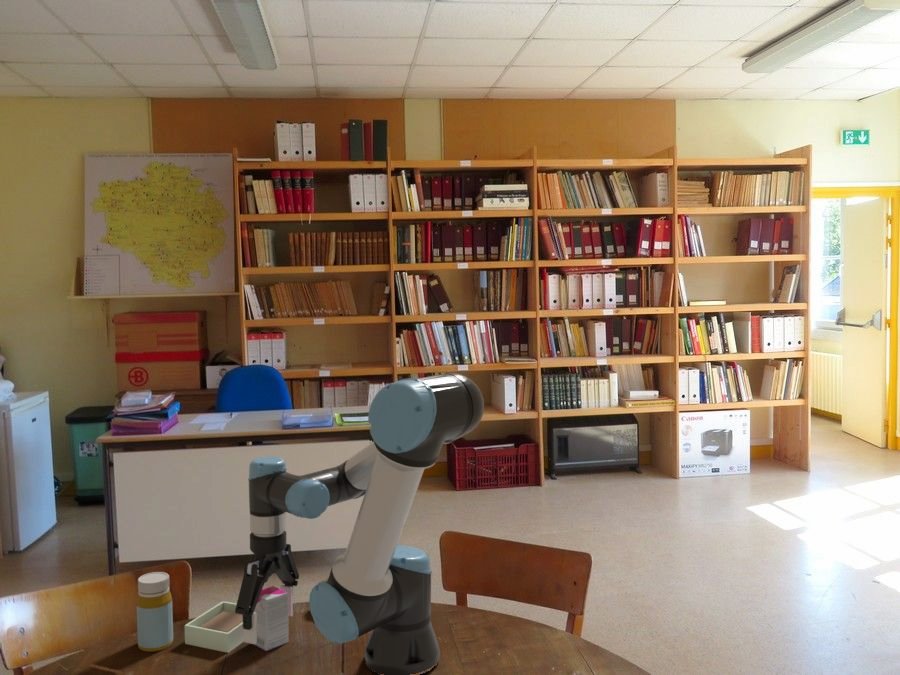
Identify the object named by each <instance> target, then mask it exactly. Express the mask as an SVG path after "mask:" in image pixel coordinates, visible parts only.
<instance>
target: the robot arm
mask: <svg viewBox="0 0 900 675" xmlns="http://www.w3.org/2000/svg"><path fill="white" fill-rule="evenodd" d="M484 412H485V400H484V396H483V393H482V390H480V388H479V386H478V385H477V384H476V382H474V381H473V380H472V379H470V378H469V377H468V376H466V375H464V374H463V375H462V374H461V373H455V372H446V373H440V374H436V375H430V376H425V377H417V378H414V377H412V378H411V377H408V378H402V379H400V380H397V381H395V382H392V383H389V384H387V385H385V386H384V387H382V388H380V390H379V391H378V392H377V393H376V394H375V396H374V398H373V399H372V401H371V403H370V406H369V409H368V414H367V415H368V417H367V420H368V421H367V422H368V424H370V426H371V427H370V428H369V433H370V436H371V438H372V440H373V441H372V442H370V443H369V444H368V445H366V446H365V447H364V448H362V449H361V450H359V451H357V453H355V454H353V455H352V456H351V457H349V458H348V459H347V460H345V461H343V462H342V463H340V464H339V465H336V466H333V467H329V468H326V469H322V470H318V471H317V470H316V471H315V472H311V473H310V472H309V473H307V474H303V475H302V474H301V475H297V474H293V473H289V472H287V465H286V461H285V460H284V459H283V458H282V457H280V456H279V457H278V456H263V457H258V458H255V459H253V460H251V462H250V464H249V469H248V473H249V474H248V479H247V481H248V502H249V505H248V506H249V507H248V508H249V530H250V534H249V550H250V552H252V554H253V556H254V558H253V559H254V560H253V562H251V563H250V562H245V564H244V566H243V577H242V581H241V584H240V585H241V586H240V589H239V594H238V597H237V601H236V604H237V605H236V609H235V613H237V614H242V615H243V630H244V642H243V643H246V644H252V645H254V644H256V643H257V612H254V610H255V607H256V604H257V602H258V599H259V596H260V594H261V591H262V589H264V586H265V583H267V582H268V581H269V578H270V577H271V576H272V575H273V574H275V575H276V576H277V578H278V579H279V580H280V581H281V583H282V585H280V588H279V589H281V590H283V591H285V592H287V593H288V617H293V616H294V587H297V586H298V584H299V582H298V580H299V579H300V574H299V571H298V568H297V565H296V563H295V560H294V557H293V553H292V545H291V544H289V543H287V531H286V530H287V513H288V514H290V515H293V516H294V517H295V516H296V517H297V518H301V519H308V520H311V519H312V520H313V519H318V518H319V517H321V515H323V513H324V512H325V511H326V510H327V509H328V507H331V506H333V505H336V504H341V503H344V502H347V501H351V500H356V499H359V498H362V497H363V499H362V502H361V504H360V508H359V510H358V513H357V517H356V519H355V523H354V525H353V528H352V531H351V534H350V538H349V541H348V543H347V546H346V549H345V552H344V553H342V554H340V555H338V556H337V557H336V559H334V561H333V563H332V567H331V569H330V573H329V574H328V577H327V578H328V579H327V580H326V581H324V582H323V581H322V580H321V581H322V582H321V581H319V582H318V583H317V584H316V585H314V586H313V587H312V589H311V591H310V594H309V600H308V601H309V604H308V605H309V610H310V614H311V616H312V619H313V622H314V625H315V626H316V628H317V629H318V631H319V632H320V634H321V635H322V636H323V637H325V638H326V639H327V640H328V641H330V642H332V643H334V644H345V643H347V642H349V641H355V640H356V639H358V638H360V637H362V636H364V635H365V634H368V633H370V634H369V637H368V641H367V644H366V647H365V652H364V656H365V659H364V660H365V661H366V662H365V661H364V662H365V665H366V664H367V665H366V667H367V666H368V667H369V668H370V669H371V670H373V671H375V672H376V673H379V674H384V675H410V674H416V673H419V672H422V671H425V670H427V669H429V668H431V667H432V666H433V665H435V664H436V663H437V661H438V659H439V660H440V646H439V643H438V639H437V636H436V634H435V631H434V628H433V625H432V622H431V621H432V617H431V616H432V615H431V614H432V606H431V605H432V569H431V568H432V567H431V559H430V556H429V554H428V553H427V552H426V551H425V550H422V549H420V548H417V547H414V546H408V545H401V544H400V545H399V541H400V538H401V536H402V533H403V530H404V526H405V524H406V522H407V520H408V516H409V514H410V510H411V508H412V506H413V502H414V499H415V497H416V494H417V491H418V488H419V486H420V484H421V480H422V477H423V474H424V472H425V470H426V469H429V468H431V467H433V466H434V465H435V464H436V463H437V461H438V458H439V455H440V453H441V450H442V447H443V445H444V444H451V443H453V442H455V441H456V440H458V439H460V438H461V437H463V436H465V435H467V434H469V433H471V432H472V431H474V429H476V428H477V426H478V425H479V424H480V422H481V420H482V419H483V416H484ZM368 667H367V668H368ZM369 668H368V669H369ZM370 669H369V670H370ZM371 670H370V671H371ZM373 671H372V672H373ZM376 673H375V674H376ZM379 674H378V675H379Z"/></svg>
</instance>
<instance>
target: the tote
mask: <svg viewBox="0 0 900 675" xmlns="http://www.w3.org/2000/svg"><path fill="white" fill-rule="evenodd" d="M236 605H237V602H236V603H235V602H230V601H226V600H225V601H220V602H219V603H218V604H215V605H214V606H212V608H210V609H208V610H207V611H205V612H203V613H202V614H199V615H198V616H197V617H195V618H193V619H192V620H191V621H189V622H187V623H186V624H185V625H184V644H185V645H188V646H195V647H199V648H203V649H207V650H214V651H218V652H223V653H230V652H231V651H233V650H235V649H236V648H237V647H238V646H240V645H241V644H243V643H245V642H244V630H243V622H242V623H240V624H239V625H238V626H236V627H235V628H233V629H232V630H230V631H229V632H228V633H227V632H222V631H217V630H212V629H207V628H202V627H200V626H202V625H203V624H205V623H206V622H208V621H209V620H211V619H212V618H214V617H215V616H217V615H218V614H220V613H222V612H223V611H225V612H230V613H235V609H236ZM235 614H237V613H235ZM241 615H242V614H241Z"/></svg>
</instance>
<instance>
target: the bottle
mask: <svg viewBox="0 0 900 675" xmlns="http://www.w3.org/2000/svg"><path fill="white" fill-rule="evenodd" d="M137 589H138V591H137V592H138V596H137V599H136V626H137V627H136V628H137V629H136V630H137V646H138V649H139V650H141V651H143V652H148V653H150V652H151V653H152V652H158V651H163V650H165V649H167V648H169V647H171V645H172V644H173V642H174V620H173V619H174V617H173V616H174V615H173V614H174V613H173V596H172V593H171V591H170V575H169V574H168V573H167V572H165V571H154V572H153V571H152V572H148V573H145V574H142V575H141V576H140V577H138V578H137Z"/></svg>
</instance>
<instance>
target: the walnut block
mask: <svg viewBox="0 0 900 675" xmlns="http://www.w3.org/2000/svg"><path fill="white" fill-rule="evenodd" d="M242 622H243V615H241V614H235V613H230V612H225V611H223V612H222V613H220V614H218V615H217V616H215V617H214V618H212V619H211V620H209V621H208V622H206V623H205V624H203V625H202V626H200V627H202V628H207V629H212V630H217V631H222V632H227V633H228V632H229V631H230V630H232V629H233V628H235V627H236V626H238V625H239V624H240V623H242Z"/></svg>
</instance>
